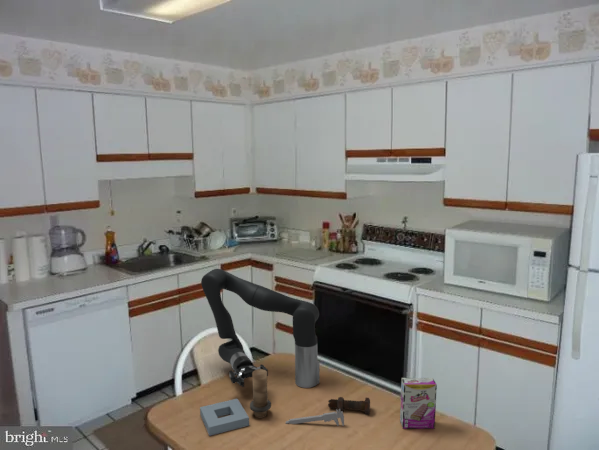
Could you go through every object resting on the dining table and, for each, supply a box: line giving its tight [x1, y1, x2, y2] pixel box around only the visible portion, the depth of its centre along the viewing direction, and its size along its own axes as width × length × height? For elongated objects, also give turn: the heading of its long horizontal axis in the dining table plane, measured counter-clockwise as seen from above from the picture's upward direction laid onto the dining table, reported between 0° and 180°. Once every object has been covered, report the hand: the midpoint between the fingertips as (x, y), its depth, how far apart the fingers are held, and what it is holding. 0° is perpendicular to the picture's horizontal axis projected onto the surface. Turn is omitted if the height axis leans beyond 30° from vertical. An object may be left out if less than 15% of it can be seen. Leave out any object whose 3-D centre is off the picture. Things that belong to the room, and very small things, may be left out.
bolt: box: [327, 396, 371, 415], centre depth 165 cm, size 6×5×15 cm
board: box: [199, 398, 250, 436], centre depth 160 cm, size 14×14×3 cm
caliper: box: [285, 408, 345, 427], centre depth 156 cm, size 20×1×6 cm, turn 85°
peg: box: [249, 369, 272, 419], centre depth 162 cm, size 8×8×16 cm
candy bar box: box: [399, 377, 438, 430], centre depth 154 cm, size 11×5×16 cm, turn 89°
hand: (254, 381), depth 168 cm, fingers open, 8 cm apart
